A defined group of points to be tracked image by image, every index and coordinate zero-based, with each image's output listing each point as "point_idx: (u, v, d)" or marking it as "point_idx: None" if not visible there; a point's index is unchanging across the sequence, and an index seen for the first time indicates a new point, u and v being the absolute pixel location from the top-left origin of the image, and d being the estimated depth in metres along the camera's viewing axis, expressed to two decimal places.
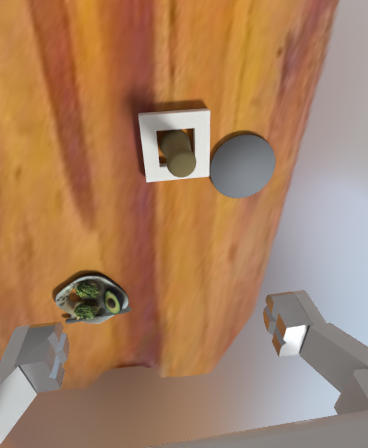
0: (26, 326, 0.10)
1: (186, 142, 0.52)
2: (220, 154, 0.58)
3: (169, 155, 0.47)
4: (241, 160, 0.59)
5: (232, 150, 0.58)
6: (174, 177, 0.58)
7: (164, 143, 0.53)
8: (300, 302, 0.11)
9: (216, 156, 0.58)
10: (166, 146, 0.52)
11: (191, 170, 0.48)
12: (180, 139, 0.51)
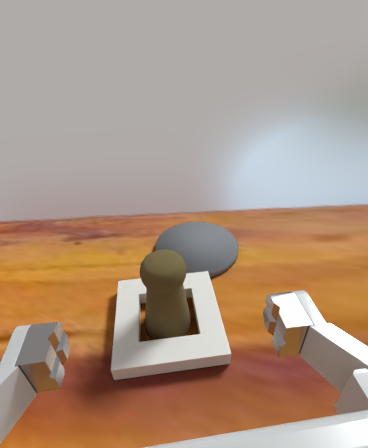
0: (26, 326, 0.10)
1: None
2: None
3: (149, 282, 0.30)
4: (185, 248, 0.48)
5: None
6: (215, 311, 0.36)
7: (156, 325, 0.33)
8: (300, 302, 0.11)
9: None
10: (156, 315, 0.33)
11: (169, 251, 0.32)
12: None
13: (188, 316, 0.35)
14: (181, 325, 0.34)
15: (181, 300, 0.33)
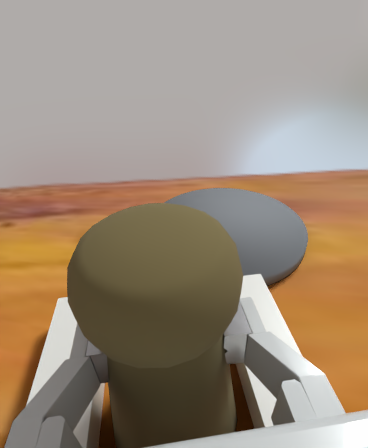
0: None
1: None
2: None
3: (93, 327, 0.07)
4: None
5: None
6: None
7: None
8: (244, 309, 0.10)
9: None
10: (136, 425, 0.10)
11: (179, 205, 0.09)
12: None
13: (233, 404, 0.12)
14: None
15: (220, 373, 0.10)
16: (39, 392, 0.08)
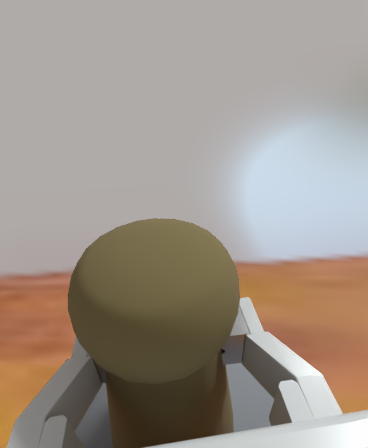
0: None
1: None
2: None
3: (86, 338, 0.07)
4: None
5: None
6: None
7: None
8: (242, 310, 0.10)
9: None
10: (128, 431, 0.10)
11: (184, 223, 0.09)
12: None
13: (229, 421, 0.12)
14: None
15: (213, 392, 0.10)
16: (42, 392, 0.08)
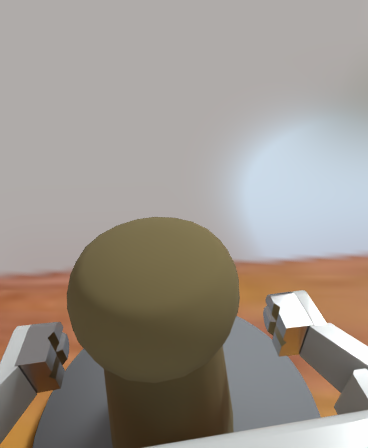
0: (26, 326, 0.10)
1: None
2: None
3: (85, 337, 0.07)
4: None
5: None
6: None
7: None
8: (300, 302, 0.11)
9: None
10: (128, 430, 0.10)
11: (184, 221, 0.09)
12: None
13: (228, 421, 0.12)
14: None
15: (213, 391, 0.10)
16: None
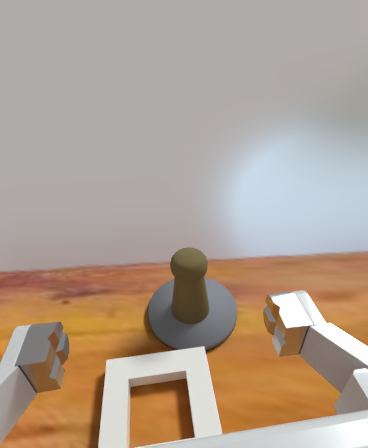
0: (26, 326, 0.10)
1: None
2: (173, 338, 0.41)
3: (177, 272, 0.38)
4: None
5: (166, 324, 0.43)
6: (212, 404, 0.32)
7: (181, 308, 0.42)
8: (300, 302, 0.11)
9: (175, 343, 0.40)
10: (181, 299, 0.41)
11: (195, 249, 0.40)
12: None
13: (207, 303, 0.43)
14: (201, 310, 0.42)
15: (202, 289, 0.41)
16: None
